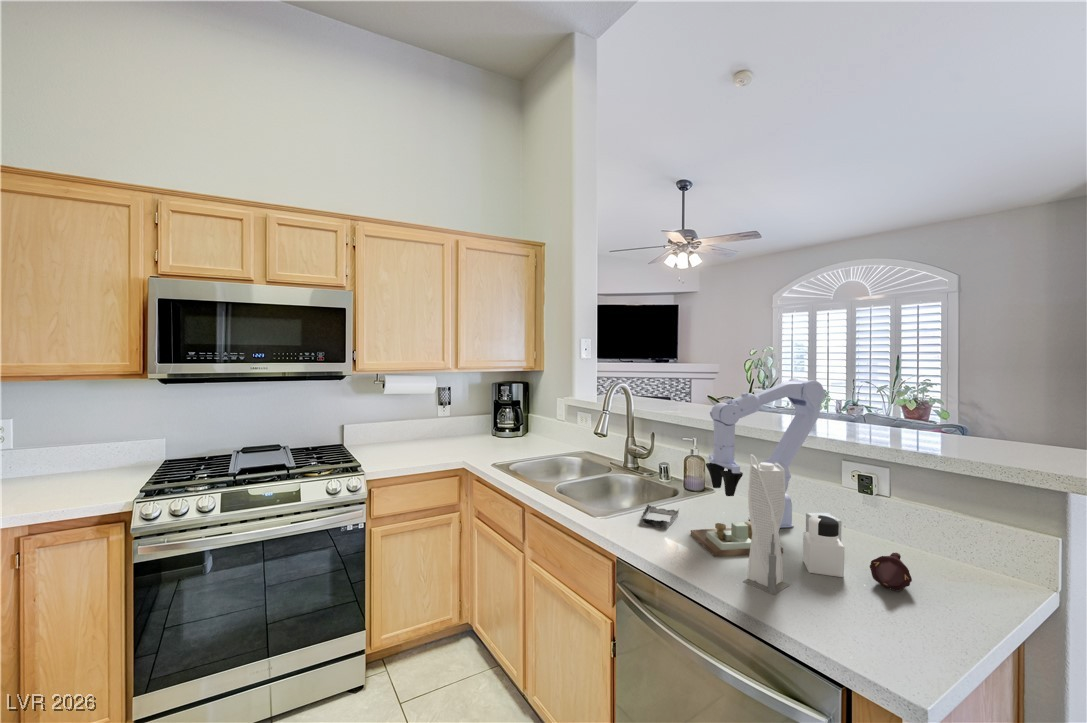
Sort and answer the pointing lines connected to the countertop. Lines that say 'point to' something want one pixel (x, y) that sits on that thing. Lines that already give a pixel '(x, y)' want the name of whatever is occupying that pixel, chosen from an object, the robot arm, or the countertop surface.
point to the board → (720, 528)
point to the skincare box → (822, 515)
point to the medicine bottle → (823, 547)
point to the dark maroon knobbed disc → (890, 572)
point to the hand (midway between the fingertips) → (723, 491)
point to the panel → (732, 537)
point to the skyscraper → (766, 526)
